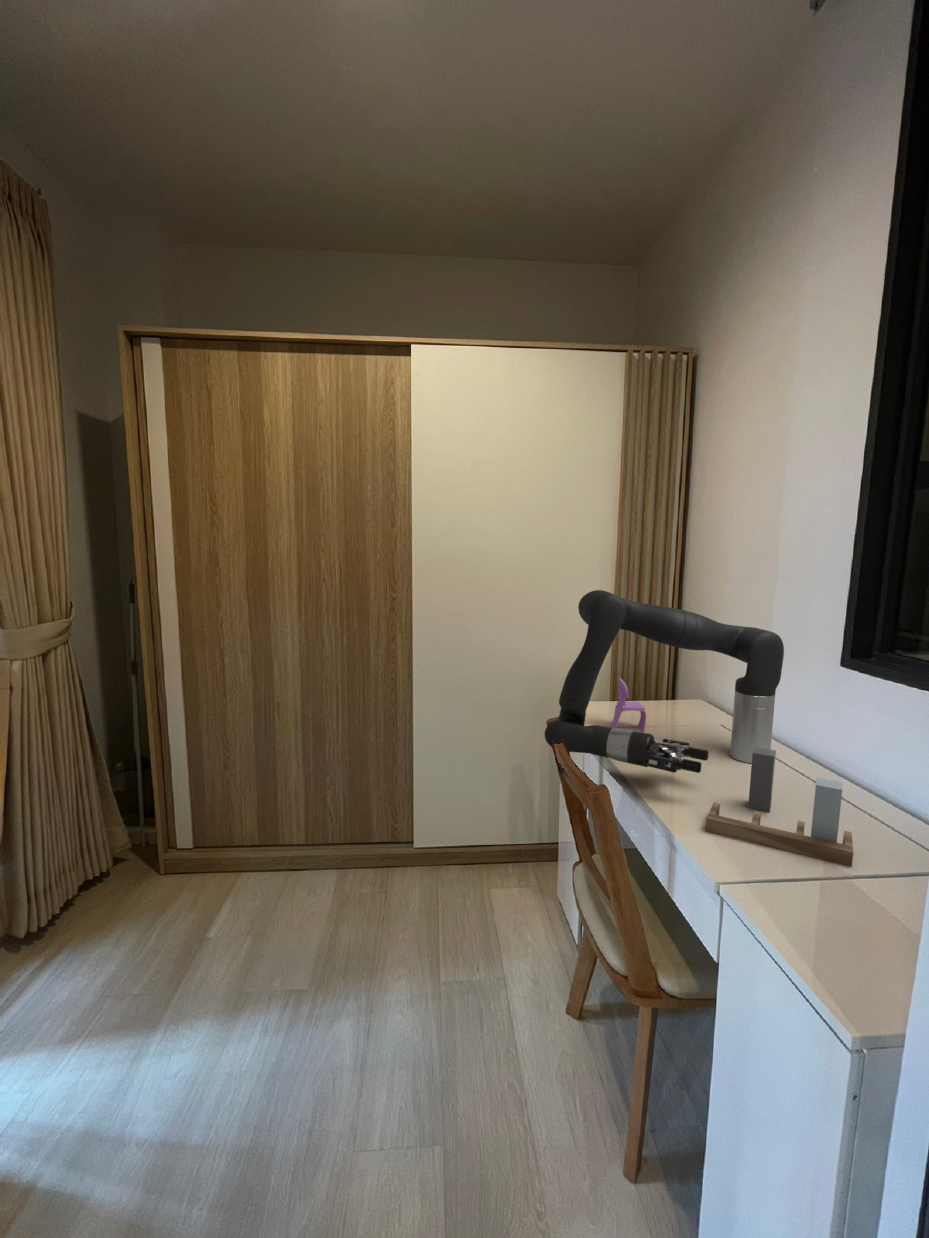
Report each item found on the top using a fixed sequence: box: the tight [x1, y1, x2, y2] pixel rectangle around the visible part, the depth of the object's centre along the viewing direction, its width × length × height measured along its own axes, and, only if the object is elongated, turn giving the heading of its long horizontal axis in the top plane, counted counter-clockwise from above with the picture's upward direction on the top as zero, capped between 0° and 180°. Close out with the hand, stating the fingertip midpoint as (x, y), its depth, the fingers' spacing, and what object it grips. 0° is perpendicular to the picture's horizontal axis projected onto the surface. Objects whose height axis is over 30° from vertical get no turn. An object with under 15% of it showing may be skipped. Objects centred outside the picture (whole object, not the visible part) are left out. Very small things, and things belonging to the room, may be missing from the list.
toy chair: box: [610, 678, 647, 733], centre depth 175 cm, size 8×9×15 cm
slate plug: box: [810, 777, 843, 843], centre depth 110 cm, size 4×4×12 cm
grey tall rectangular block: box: [747, 747, 777, 813], centre depth 126 cm, size 4×4×12 cm
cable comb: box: [705, 801, 854, 867], centre depth 113 cm, size 8×24×2 cm, turn 59°
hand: (704, 761), depth 131 cm, fingers open, 8 cm apart
